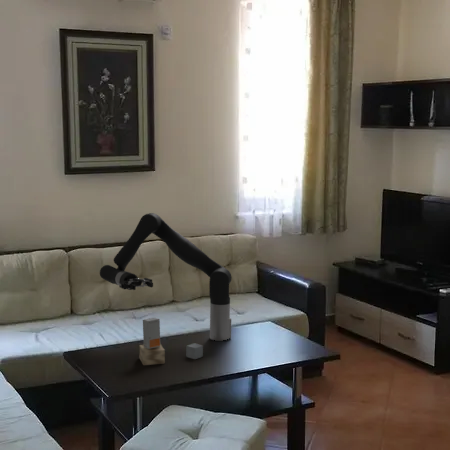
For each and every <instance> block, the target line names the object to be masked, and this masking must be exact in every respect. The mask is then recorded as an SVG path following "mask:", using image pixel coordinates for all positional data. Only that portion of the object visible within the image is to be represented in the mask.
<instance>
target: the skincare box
mask: <svg viewBox="0 0 450 450" xmlns="http://www.w3.org/2000/svg"><path fill="white" fill-rule="evenodd" d="M160 323H161V322H160V318H157V317H150V318H145V319H142V336H143V345H144V348H147V349H151V348H156V347H160V344H161V330H160V329H161V324H160Z"/></svg>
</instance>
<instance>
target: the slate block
mask: <svg viewBox="0 0 450 450" xmlns="http://www.w3.org/2000/svg"><path fill="white" fill-rule="evenodd" d="M203 349H204V345H202V344H198V343H195V342H193V343H191V344H190V343H189V344H188V345H186V349H185V351H186V356H185V357H186V358H189V359H193V360H196V359H200V358H202V357H204V354H203V353H204V350H203Z"/></svg>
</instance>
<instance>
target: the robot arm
mask: <svg viewBox="0 0 450 450" xmlns="http://www.w3.org/2000/svg"><path fill="white" fill-rule="evenodd" d="M151 234H153V235H154V236H156V237H157V238H159V239H160V240H161V241H163V242H164V243H165V245H166V246H167V247H168V249H169V250H171V252H172V253H173V254H174V255H175V256H176V257H177V258H179V259H180V260H182V261H183V263H186V264H187V265H189V266H192V267H194V268H196V269H198V270H199V271H201V272H203V273H204V274H205V275H207V276H208V277H209V284H208V285H209V288H208V289H209V299H210V302H209V304H210V306H209V307H210V310H209V339H210V340H211V341H214V340H215V341H214V342H224V341H223V340H226V341H228V340H229V338H230V339H232V318H230V317H231V313H230V311H231V297H230V284H231V282H232V273H231V272H230V270H229V269H227V268H225V266H223V265H221V264H219V263H218V262H216V261H215V260H213V259H212V258H210V257H209V256H208V254H206V253H205V252H204V251H202V250H201V249H200V248H199V247H197V245H196V244H194V243H193V242H192V241H190V240H189V239H188V238H186V237H185V236H184V235H182V234H181V233H180V232H178V231H176V230H175V229H173V228H172V227H171V226H170V225H169V224H168V223H167V222H166V221H164V220H163V218H161V216H159V215H158V214H157V213H154V212H149V213H145V214H143V215H142V217H141V218H140V219H139V222H138V223H137V225H136V227H135V229H134V231H133V233H132V234H131V235H130V237H129V238H128V240H127V241H126V243H124V245H123V246H122V247H121V248H120V250H118V252H117V254H116V255H115V256H114V257H113V263H114V264H115V265H116V266H117V268H116V267H114V266H112V265H110V264H104V265H102V266H101V268H100V270H99V276H100V278H102V279H103V280H104V281H107V282H109V283H110V284H112V285H117V286H119V288H121V289H123V290H128V291H132V290H133V291H136V288H144V287H149V288H153V287H154V282H153V279H151V278H147V277H144V278H140V277H138V276H137V274H135V273H132V272H129V271H126V268H127V266H128V265H129V264H130V262H131V261H132V260H133V258H134V257H135V256H136V254H137V252H138V251H139V248H140V247H141V245H143V243H144V242H145V240H147V238H148V237H149V236H150V235H151ZM227 339H228V340H227Z"/></svg>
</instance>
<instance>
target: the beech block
mask: <svg viewBox="0 0 450 450" xmlns="http://www.w3.org/2000/svg"><path fill="white" fill-rule="evenodd" d="M165 351H166V349H165V348H164V347H163V345H162V344H161V343H160V347H156V348H151V349H147V348H144V344H139V360H140V362H141V364H142V365H143V366H150V365H151V366H152V365H160V364H162V365H163V364H166V363H165V362H166V361H165V360H166V358H165V357H166V352H165Z"/></svg>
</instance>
